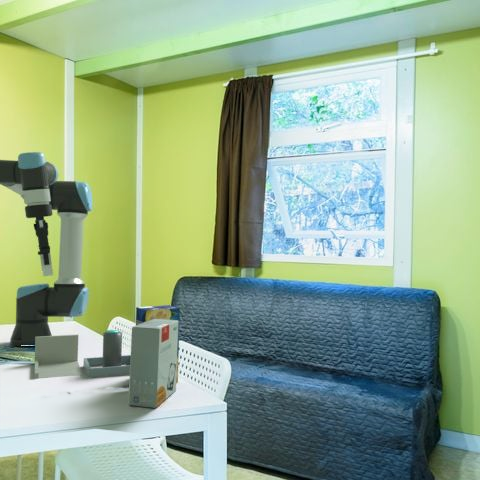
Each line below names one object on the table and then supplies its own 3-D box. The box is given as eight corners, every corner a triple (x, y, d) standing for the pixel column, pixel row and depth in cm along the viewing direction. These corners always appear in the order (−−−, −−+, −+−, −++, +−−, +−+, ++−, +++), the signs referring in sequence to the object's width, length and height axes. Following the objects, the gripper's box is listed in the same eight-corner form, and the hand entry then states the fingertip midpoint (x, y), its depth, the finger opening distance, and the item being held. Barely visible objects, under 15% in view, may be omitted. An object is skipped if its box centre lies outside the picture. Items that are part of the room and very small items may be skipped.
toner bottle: (101, 370, 150) (102, 329, 150) (119, 368, 152) (120, 329, 152) (103, 374, 145) (104, 333, 145) (122, 373, 147) (123, 332, 147)
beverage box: (133, 381, 141) (135, 307, 141) (167, 376, 148) (169, 305, 148) (144, 388, 136) (146, 310, 136) (178, 382, 142) (180, 307, 142)
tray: (83, 370, 151) (83, 358, 151) (133, 366, 158) (133, 354, 158) (87, 382, 139) (88, 369, 139) (141, 378, 145) (142, 364, 145)
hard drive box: (156, 409, 119) (158, 328, 119) (127, 406, 120) (129, 327, 120) (177, 390, 134) (178, 319, 134) (151, 388, 136) (153, 317, 136)
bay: (34, 367, 153) (35, 336, 153) (77, 364, 158) (78, 334, 158) (34, 383, 137) (35, 348, 137) (82, 379, 142) (83, 345, 142)
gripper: (24, 205, 155) (33, 269, 158) (24, 205, 133) (34, 280, 135) (49, 203, 158) (57, 266, 161) (53, 202, 136) (63, 276, 138)
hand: (47, 273), depth 148 cm, fingers open, 13 cm apart
